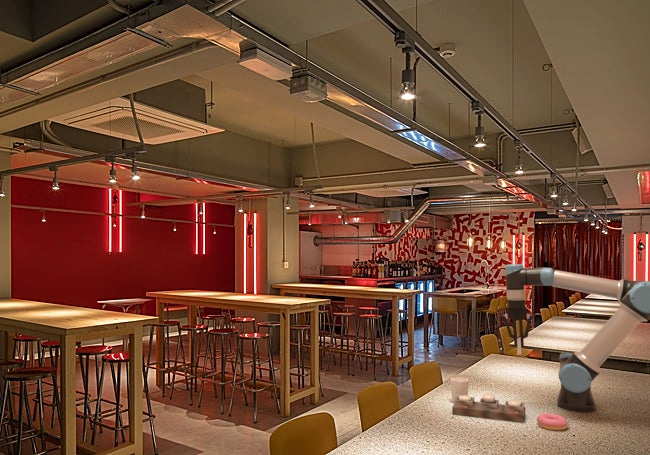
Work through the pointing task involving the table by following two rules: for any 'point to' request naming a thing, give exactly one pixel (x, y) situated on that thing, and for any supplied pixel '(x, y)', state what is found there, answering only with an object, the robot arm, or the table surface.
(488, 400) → the button mid
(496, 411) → the panel
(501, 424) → the table surface
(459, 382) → the tan paper cup
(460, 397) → the button far
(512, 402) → the button near
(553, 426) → the doughnut
